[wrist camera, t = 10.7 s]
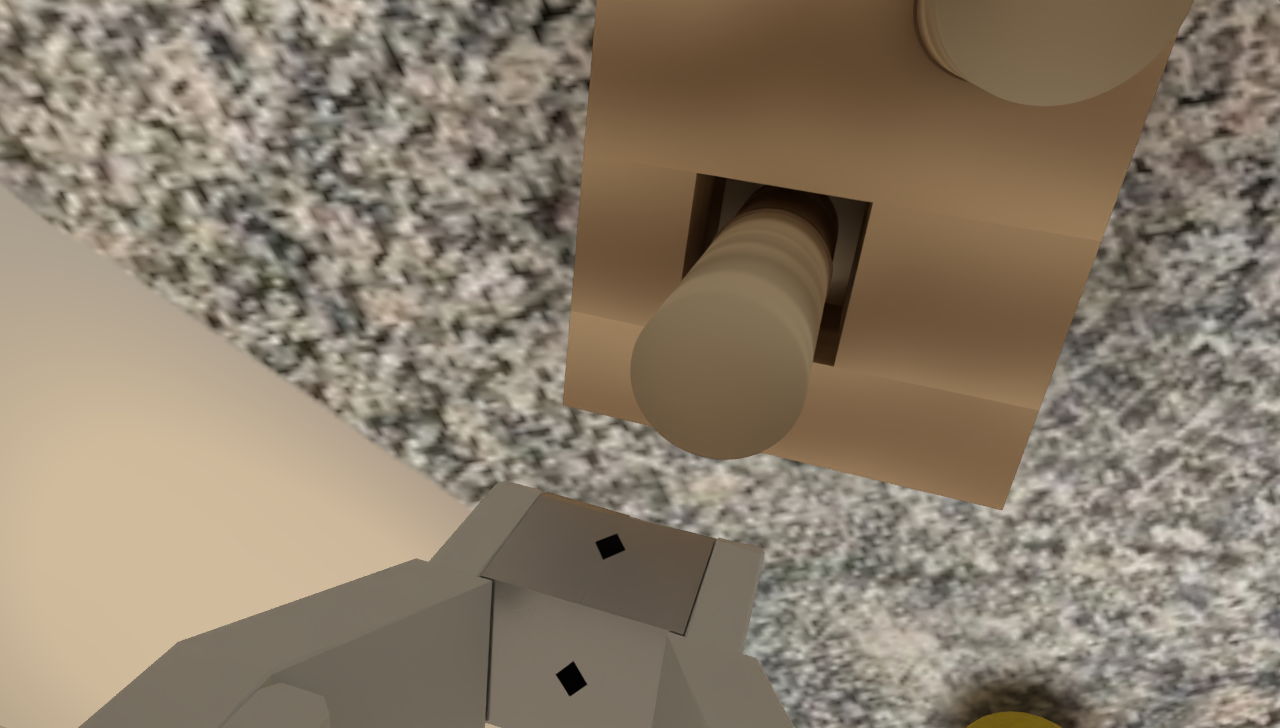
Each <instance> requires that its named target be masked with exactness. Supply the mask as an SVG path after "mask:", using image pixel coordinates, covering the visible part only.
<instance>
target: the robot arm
mask: <svg viewBox="0 0 1280 728" xmlns="http://www.w3.org/2000/svg"><path fill="white" fill-rule="evenodd" d="M764 554H765V553H764V550H763V548H760V547H756V546H752V545H747V544H743V543H739V542H734V541H730V540H726V539H721V538H718V539H716V538H712V537H708V536H704V535H700V534H696V533H692V532H688V531H684V530H680V529H676V528H672V527H668V526H665V525H661V524H657V523H653V522H649V521H645V520H641V519H637V518H633V517H630V516H629V515H626V514H622V513H619V512H615V511H612V510H608V509H605V508H601V507H598V506H595V505H591V504H588V503H584V502H581V501H577V500H574V499H570V498H567V497H563V496H560V495H556V494H553V493H549V492H546V493H545V492H543V491H542V490H538V489H535V488H531V487H527V486H523V485H520V484H516V483H512V482H508V481H504V482H500V483H498V484H496V485H495V486H494V487H493V488H492V489H491V491H490V492H489V493H488V494H487V495H486V496H485V497H484V499H483V500H482V501H481V502H480V503H479V504H478V506H477V507H476V508H475V509H474V510H473V511H472V512H471V514H470V515H469V516H468V517H467V518H466V520H465V521H464V522H463V523H462V524H461V525H460V526H459V528H458V529H457V530H456V531H455V532H454V533H453V534H452V536H451V537H450V538H449V539H448V540H447V541H446V543H445V544H444V545H443V546H442V547H441V548H440V549H439V551H438V552H437V553H436V554H435V556H433V558H432V559H431V560H430V561H429V562H427V561H423V560H420V559H413V560H411V561H408V562H405V563H402V564H399V565H396V566H393V567H390V568H388V569H385V570H382V571H379V572H376V573H373V574H371V575H368V576H365V577H362V578H359V579H356V580H354V581H351V582H348V583H345V584H342V585H339V586H336V587H333V588H331V589H328V590H325V591H322V592H319V593H316V594H314V595H311V596H308V597H305V598H302V599H299V600H296V601H294V602H291V603H288V604H285V605H282V606H279V607H276V608H274V609H271V610H268V611H265V612H262V613H259V614H256V615H254V616H251V617H248V618H245V619H242V620H239V621H237V622H234V623H231V624H228V625H225V626H222V627H219V628H217V629H214V630H211V631H208V632H206V633H202V634H200V635H197V636H194V637H191V638H188V639H185V640H182V641H180V642H178V643H176V644H175V645H174V646H173V647H172V648H171V649H170V650H168V651H167V652H166V653H165V654H164V655H162V656H161V657H160V658H159V659H158V660H157V661H155V662H154V663H153V664H152V665H151V666H150V667H148V668H147V669H146V670H145V671H144V672H143V673H142V674H140V675H139V676H138V677H137V678H136V679H135V680H133V681H132V682H131V683H130V684H129V685H127V687H125V688H124V689H123V690H122V691H120V692H119V693H118V694H117V695H116V696H115V697H114V698H112V699H111V700H110V701H109V702H108V703H107V704H105V705H104V706H103V707H102V708H101V709H100V710H98V711H97V712H96V713H95V714H94V715H93V716H91V717H90V718H89V719H88V720H87V721H86V722H84V723H83V724H82V725H81V726H80V727H79V728H485V723H489V724H492V725H495V726H499V727H502V728H795V727H794V725H793V724H792V722H791V720H790V718H789V716H788V714H787V713H786V711H785V709H784V707H783V705H782V704H781V702H780V700H779V698H778V696H777V694H776V693H775V691H774V689H773V687H772V685H771V683H770V682H769V680H768V678H767V676H766V674H765V673H764V671H763V669H762V667H761V665H760V663H759V662H758V660H757V659H756V658H754V657H751V656H747V655H744V654H742V653H743V649H744V644H745V640H746V635H747V631H748V626H749V622H750V617H751V613H752V608H753V604H754V599H755V595H756V590H757V586H758V581H759V577H760V572H761V568H762V563H763V559H764ZM0 728H5V727H2V726H0Z"/></svg>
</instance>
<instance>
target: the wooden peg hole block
mask: <svg viewBox="0 0 1280 728" xmlns="http://www.w3.org/2000/svg"><path fill="white" fill-rule="evenodd" d="M1193 1H1194V0H597V2H596V14H595V26H594V38H593V50H592V62H591V74H590V86H589V98H588V110H587V122H586V134H585V146H584V158H583V170H582V182H581V194H580V206H579V218H578V230H577V242H576V254H575V266H574V277H573V289H572V301H571V313H570V325H569V337H568V349H567V361H566V373H565V385H564V397H563V405H565V406H569V407H573V408H577V409H582V410H586V411H590V412H594V413H598V414H602V415H607V416H611V417H615V418H619V419H623V420H627V421H632V422H636V423H640V424H644V425H648V426H651V424H650V423H649V422H648V421H647V419H646V418H645V416H644V415H643V413H642V412H641V410H640V408H639V406H638V404H637V402H636V399H635V396H634V393H633V389H632V385H631V376H630V364H631V357H632V352H633V349H634V346H635V343H636V340H637V338H638V336H639V335H640V333H641V331H642V330H643V328H644V327H645V325H646V324H647V323H648V321H649V320H650V319H651V318H652V317H653V315H654V314H655V313H656V312H657V310H658V309H659V308H660V307H661V305H662V304H663V303H664V302H665V301H666V299H667V298H668V297H669V296H670V294H671V293H672V292H673V291H674V290H675V288H676V287H677V286H678V285H679V283H680V282H681V281H682V280H683V278H684V277H685V276H686V275H687V274H688V272H689V271H690V270H691V269H692V267H693V266H694V265H695V264H696V263H697V261H698V260H699V259H700V258H701V256H702V255H703V254H704V253H705V251H706V250H707V249H708V248H709V246H710V244H711V242H712V240H713V238H714V237H715V236H716V234H717V233H718V232H719V230H720V229H721V228H722V227H723V226H724V225H725V224H726V223H727V222H728V221H730V220H731V219H732V218H733V217H734V216H735V215H736V213H737V212H738V211H739V210H740V209H741V207H742V206H743V205H744V204H745V202H746V201H747V200H748V199H749V198H750V196H751V195H752V194H753V193H754V192H755V191H756V190H758V189H759V188H760V187H762V186H763V185H765V184H766V185H772V186H778V187H784V188H789V189H795V190H801V191H807V192H813V193H819V194H825V195H827V196H828V197H829V199H830V200H831V202H832V203H833V205H834V207H835V209H836V212H837V216H838V222H839V232H838V238H837V243H836V248H835V253H834V258H833V274H832V281H831V286H830V289H829V293H828V295H827V298H826V300H825V303H824V308H823V313H822V318H821V323H820V328H819V333H818V338H817V343H816V348H815V353H814V358H813V363H812V368H811V373H810V378H809V383H808V388H807V393H806V398H805V402H804V405H803V409H802V411H801V413H800V416H799V418H798V420H797V421H796V423H795V424H794V426H793V427H792V429H791V430H790V431H789V432H788V433H787V434H786V436H785V437H783V438H782V439H781V440H780V441H779V442H778V443H776V444H775V445H773V446H772V447H770V448H768V449H767V450H765V451H762V452H761V453H765V454H770V455H774V456H778V457H782V458H786V459H790V460H795V461H799V462H803V463H807V464H811V465H816V466H820V467H824V468H828V469H832V470H836V471H841V472H845V473H849V474H853V475H857V476H861V477H866V478H870V479H874V480H878V481H882V482H887V483H891V484H895V485H899V486H903V487H907V488H912V489H916V490H920V491H924V492H928V493H932V494H937V495H941V496H945V497H949V498H953V499H958V500H962V501H966V502H970V503H974V504H978V505H983V506H987V507H991V508H995V509H999V510H1003V507H1004V504H1005V502H1006V499H1007V496H1008V494H1009V491H1010V488H1011V485H1012V483H1013V480H1014V477H1015V474H1016V472H1017V469H1018V466H1019V464H1020V461H1021V458H1022V455H1023V453H1024V450H1025V447H1026V445H1027V442H1028V439H1029V436H1030V434H1031V431H1032V428H1033V426H1034V423H1035V420H1036V417H1037V415H1038V412H1039V409H1040V406H1041V404H1042V401H1043V398H1044V396H1045V393H1046V390H1047V387H1048V385H1049V382H1050V379H1051V377H1052V374H1053V371H1054V368H1055V366H1056V363H1057V360H1058V358H1059V355H1060V352H1061V349H1062V347H1063V344H1064V341H1065V338H1066V336H1067V333H1068V330H1069V328H1070V325H1071V322H1072V319H1073V317H1074V314H1075V311H1076V309H1077V306H1078V303H1079V300H1080V298H1081V295H1082V292H1083V289H1084V287H1085V284H1086V281H1087V279H1088V276H1089V273H1090V270H1091V268H1092V265H1093V262H1094V260H1095V257H1096V254H1097V251H1098V249H1099V246H1100V243H1101V241H1102V238H1103V235H1104V232H1105V230H1106V227H1107V224H1108V221H1109V219H1110V216H1111V213H1112V211H1113V208H1114V205H1115V202H1116V200H1117V197H1118V194H1119V192H1120V189H1121V186H1122V183H1123V181H1124V178H1125V175H1126V173H1127V170H1128V167H1129V164H1130V162H1131V159H1132V156H1133V153H1134V151H1135V148H1136V145H1137V143H1138V140H1139V137H1140V134H1141V132H1142V129H1143V126H1144V124H1145V121H1146V118H1147V115H1148V113H1149V110H1150V107H1151V105H1152V102H1153V99H1154V96H1155V94H1156V91H1157V88H1158V85H1159V83H1160V80H1161V77H1162V75H1163V72H1164V69H1165V66H1166V64H1167V61H1168V58H1169V56H1170V53H1171V50H1172V47H1173V45H1174V42H1175V39H1176V37H1177V34H1178V31H1179V28H1180V26H1181V25H1182V23H1183V21H1184V20H1185V18H1186V16H1187V14H1188V13H1189V11H1190V8H1191V6H1192V4H1193Z"/></svg>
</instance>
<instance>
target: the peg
mask: <svg viewBox="0 0 1280 728" xmlns="http://www.w3.org/2000/svg"><path fill="white" fill-rule="evenodd" d="M838 232H839V222H838V216H837V212H836V209H835V207H834V205H833V203H832V202H831V200H830V199H829V197H828V196H827V195H825V194H819V193H813V192H807V191H801V190H795V189H789V188H784V187H778V186H772V185H766V184H765V185H763V186H762V187H760V188H759V189H758V190H756V191H755V192H754V193H753V194H752V195H751V196H750V198H749V199H748V200H747V201H746V202H745V204H744V205H743V206H742V207H741V209H740V210H739V211H738V212H737V213H736V215H735V216H734V217H733V218H732V219H731V220H730V221H728V222H727V223H726V224H725V225H724V226H723V227H722V228H721V229H720V230H719V232H718V233H717V234H716V236H715V237H714V238H713V240H712V242H711V244H710V246H709V248H708V249H707V250H706V251H705V253H704V254H703V255H702V256H701V258H700V259H699V260H698V261H697V263H696V264H695V265H694V266H693V267H692V269H691V270H690V271H689V272H688V274H687V275H686V276H685V277H684V278H683V280H682V281H681V282H680V283H679V285H678V286H677V287H676V288H675V290H674V291H673V292H672V293H671V294H670V296H669V297H668V298H667V299H666V301H665V302H664V303H663V304H662V305H661V307H660V308H659V309H658V310H657V312H656V313H655V314H654V315H653V317H652V318H651V319H650V320H649V321H648V323H647V324H646V325H645V327H644V328H643V330H642V331H641V333H640V335H639V336H638V338H637V340H636V343H635V346H634V349H633V352H632V357H631V364H630V376H631V385H632V389H633V393H634V396H635V399H636V402H637V404H638V406H639V408H640V410H641V412H642V413H643V415H644V416H645V418H646V419H647V421H648V422H649V423H650V424H651V426H652V427H653V428H654V429H655V430H656V431H657V432H658V433H659V434H660V435H661V436H662V437H664V438H665V439H666V440H668V441H669V442H670V443H672V444H673V445H675V446H677V447H679V448H680V449H682V450H685V451H687V452H689V453H692V454H695V455H698V456H701V457H706V458H711V459H723V460H728V459H739V458H745V457H749V456H752V455H755V454H758V453H760V452H762V451H765V450H767V449H768V448H770V447H772V446H773V445H775V444H776V443H778V442H779V441H780V440H781V439H782V438H783V437H785V436H786V434H787V433H788V432H789V431H790V430H791V429H792V427H793V426H794V424H795V423H796V421H797V420H798V418H799V416H800V413H801V411H802V409H803V405H804V402H805V398H806V393H807V388H808V383H809V378H810V373H811V368H812V363H813V358H814V353H815V348H816V343H817V338H818V333H819V328H820V323H821V318H822V313H823V308H824V303H825V300H826V298H827V295H828V293H829V289H830V286H831V281H832V274H833V258H834V253H835V248H836V243H837V238H838Z"/></svg>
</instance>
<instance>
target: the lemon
mask: <svg viewBox="0 0 1280 728" xmlns="http://www.w3.org/2000/svg"><path fill="white" fill-rule="evenodd" d="M966 728H1062V727H1060V726H1059V725H1057V724H1055V723H1053V722H1051V721H1049V720H1047V719H1044V718H1042V717H1040V716H1036V715H1033V714H1029V713H1025V712H1014V711H1007V712H997V713H993V714H990V715H987V716H983V717H981V718H980V719H978V720H976V721H974V722H973V723H971V724H970V725H968V726H967V727H966Z"/></svg>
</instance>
